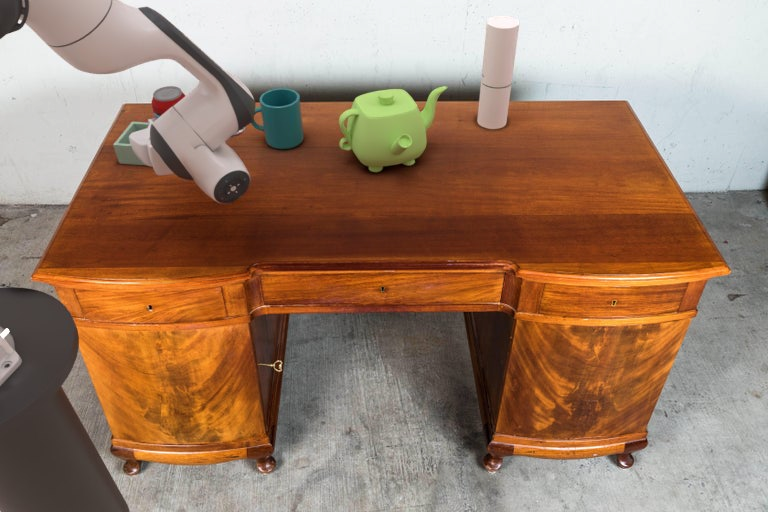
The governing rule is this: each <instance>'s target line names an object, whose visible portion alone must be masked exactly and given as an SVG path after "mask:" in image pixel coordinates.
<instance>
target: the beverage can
mask: <svg viewBox="0 0 768 512" xmlns="http://www.w3.org/2000/svg"><path fill="white" fill-rule="evenodd" d="M186 95H187V94H185V93H184V92H183V91H182V89H181V88H180V87H178V86H175V85H169V86H168V85H167V86H162V87H159V88H157V89H156V90H155V91H153V93H152V99H151V108H152V110H153V115H154V118H156V119H158V118H159V117H160V116H161V115H162V114H164V113H165V112H166V111H167V110H168V109H170V108H171V107H172V106H174V105H175V104H177V103H178V102H179V101H180V100H181V99H183V98H184V97H185V96H186ZM174 109H175V108H174ZM175 110H176V109H175ZM176 111H177V110H176ZM177 112H178V111H177ZM178 113H179V112H178Z"/></svg>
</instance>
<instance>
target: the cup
mask: <svg viewBox="0 0 768 512" xmlns="http://www.w3.org/2000/svg"><path fill="white" fill-rule="evenodd" d="M301 106H302V105H301V97H300V93H298V91H296V90H294V89H291V88H285V87H283V88H281V87H279V88H273V89H270V90H267V91H265V92H264V93H262V94H261V95H260V97H259V106H258V107H255V113H254V116H256V114H258V113H260V114H261V119H262V120H261V121H262V124H259V123H257V122H256V120H255V117H254V118H253V122H251V123H250V124H251V125H252V127H253V128H254V129H256V130H258V131H261V132H263V133H264V139H265V142H266V144H267V145H268V146H269V147H270V148H273V149H276V150H290V149H293V148H296V147H297V146H300V145H301V143H302V142H303V141H304V138H305V135H304V125H303V117H302V107H301Z"/></svg>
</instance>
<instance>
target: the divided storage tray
mask: <svg viewBox="0 0 768 512" xmlns="http://www.w3.org/2000/svg"><path fill="white" fill-rule="evenodd" d="M148 126H149V122H143V121H131V122H130V123H129V125H128V126H127V127H126V128H125V130H123V132H122V133H121V135H120V136H119V137H118V138H117V139H116V140H115V142H114V143H113V144H112V146H113V149H114V152H115V155H116V158H117V160H118V164H122V165H134V166H147V165H146V164H144V163H143V162H142V161H141V160H140V159H139V158H138V157H137V156H136V155H135V153H134V152H133V150H132V147H131V144H130V141H129V136H130V134H131V133H133V132H136V131H139V130H143V129H146V128H148Z"/></svg>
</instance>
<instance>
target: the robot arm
mask: <svg viewBox="0 0 768 512" xmlns="http://www.w3.org/2000/svg"><path fill="white" fill-rule="evenodd" d="M19 21H21V22H20V23H19ZM25 25H26V26H28V27H29V28H30V29H31V30H32V31H33V32H34V33H35V34H36V35H37V37H39V39H41V40H42V41H43V42H44V43H45V44H46V45H47V46H48V47H49V48H50V50H52V51H53V52H54V53H56V54H57V56H59V58H61V59H62V60H63V61H65V62H66V63H67V64H68V65H70V66H71V67H73V68H74V69H76V70H78V71H80V72H82V73H83V72H84V73H87V74H93V75H111V74H116V73H121V72H124V71H126V70H129V69H132V68H134V67H137V66H140V65H143V64H146V63H150V62H153V61H159V60H171V61H174V62H176V63H178V64H179V65H180V66H181V67H183V68H184V69H185V70H186V71H187V72H188V73H190V74H191V75H192V76H193V77H194V78H195V79H197V80H198V83H197V85H196V86H195V87H194V88H193V90H191V91H190V92H188V93H187V94H185V95H186V96H185V97H184V98H183V99H181V100H180V101H179V102H178V103H177V104H175V105H174V106H172V107H171V108H170V109H168V110H167V111H166V112H165V113H164V114H162V115H161V116H160V117H159V118H158V119H156V118H155V117H152V118H149V119H147V123H149V126H148V128H146V129H143V130H139V131H136V132H133V133H131V134H130V136H129V141H130V144H131V147H132V150H133V152H134V153H135V155H136V156H137V157H138V158H139V159H140V160H141V161H142V162H143V163H144V164H146V165H145V166H148V167H151V168H152V169H153V171H154V173H155V175H157V176H169V175H176V176H177V177H178V178H180V179H184V180H187V181H194V183H195V184H196V185H197V187H198V188H199V189H200V190H201V191H202V192H204V194H205V195H207V196H208V197H209V198H210V199H212V200H213V201H215V202H216V203H218V204H223V205H226V204H232V203H234V202H235V201H237V200H239V199H240V198H241V197H242V196H243V195H244V194H245V193H246V192H247V191H248V189H249V187H250V184H251V174H250V172H249V171H248V168H247V166H246V165H245V163H244V162H243V160H242V159H241V158H240V156H239V155H238V154H237V153H236V151H235V150H234V148H232V147H231V146H230V145H228V144H227V141H228V140H231V139H234V138H236V137H239V136H240V135H242V134H243V133H244V132H245V131H246V130H247V129H246V128H247V126H249V125H250V124H251V122H253V118H254V119H255V115H254V113H255V108H256V100H255V98H254V95H253V93H252V92H251V91H250V89H249V88H248V87H247V85H246V84H245V83H244V82H243V81H242V80H241V79H239V78H238V77H236V76H235V75H233V74H232V73H230V72H228V71H226V70H225V69H223V68H222V67H221V65H219V64H218V63H217V62H216V61H215V60H213V58H211V56H209V55H208V54H207V53H206V52H205V51H204V50H203V49H201V48H200V47H199V46H198V45H197V44H196V43H195V42H194V41H193V40H192V39H190V38H189V37H188V36H187V35H186V33H184V32H182V31H181V30H180V29H179V28H178V27H176V26H175V25H174V23H172V22H171V21H169V19H167V18H166V17H165V16H164V15H162V14H161V13H159V11H157V10H155V9H153V8H152V7H149V6H141V7H134V6H131V5H129V4H126V3H124V2H122V1H121V0H0V40H2V39H3V38H4V37H5V36H6V35H8V34H12V33H15V32H17V31H20V30H21V29H23V27H24V26H25ZM174 108H175V109H176V110H177V111H178V112H179V113H178V112H177V111H176V110H175V109H174ZM21 363H22V359H21V357H20V356H19V355H18V354H17V352H16V351H15V345H14V339H13V337H12V335H11V334H10V333H9V330H8V329H3V328H2V327H1V326H0V386H1V385H2V384H3V383H4V382H5V381H6V379H7V378H8V377H9V376H10V375H11V374H12V373H13V372H14V371H15V370H16V369H17V368H18V367H19V366H20V365H21Z"/></svg>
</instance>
